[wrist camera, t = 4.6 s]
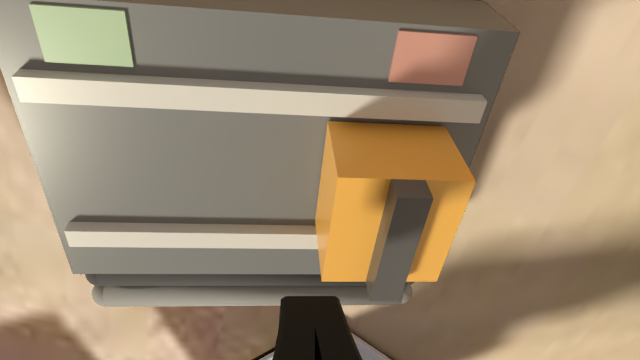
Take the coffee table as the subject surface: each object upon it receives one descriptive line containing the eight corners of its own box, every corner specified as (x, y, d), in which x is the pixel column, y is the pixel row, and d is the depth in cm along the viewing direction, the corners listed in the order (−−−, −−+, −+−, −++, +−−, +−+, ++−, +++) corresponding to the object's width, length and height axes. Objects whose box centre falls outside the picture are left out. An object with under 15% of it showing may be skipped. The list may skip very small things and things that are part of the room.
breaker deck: (483, 0, 16) (527, 38, 13) (412, 227, 23) (432, 283, 20) (23, -38, 14) (-37, -3, 11) (95, 222, 21) (68, 283, 18)
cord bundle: (417, 252, 24) (425, 273, 23) (405, 289, 26) (411, 310, 25) (87, 249, 22) (78, 272, 21) (99, 289, 24) (91, 312, 22)
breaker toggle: (445, 126, 15) (486, 199, 12) (415, 221, 18) (443, 300, 15) (327, 121, 15) (341, 196, 12) (315, 219, 17) (323, 301, 15)
